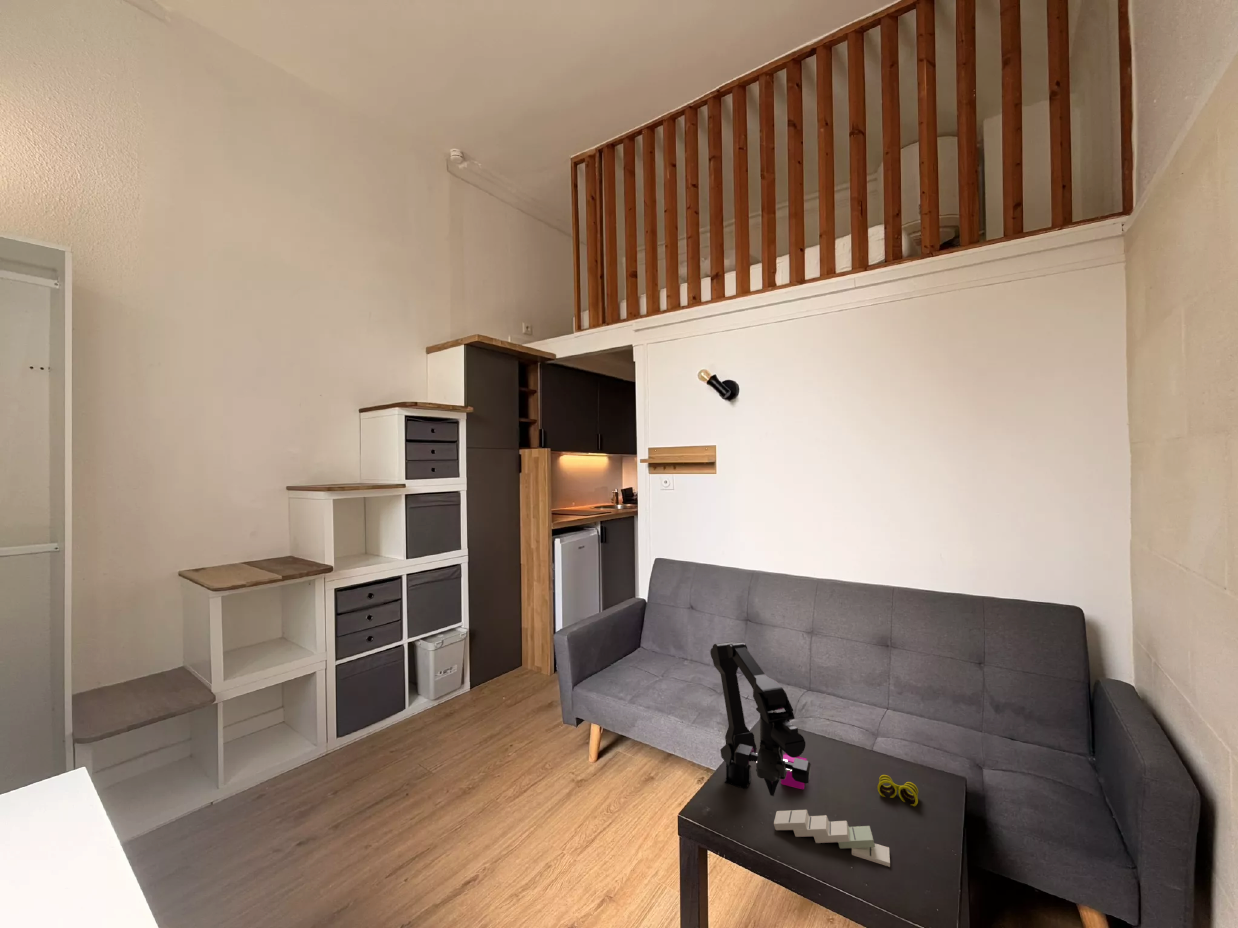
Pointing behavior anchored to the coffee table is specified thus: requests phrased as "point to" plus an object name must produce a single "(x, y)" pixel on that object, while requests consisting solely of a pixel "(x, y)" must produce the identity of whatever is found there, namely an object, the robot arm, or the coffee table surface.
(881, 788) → the opera glasses
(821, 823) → the domino
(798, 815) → the domino
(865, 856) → the domino
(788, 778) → the toy block
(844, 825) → the domino
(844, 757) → the coffee table surface
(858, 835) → the pale green domino
